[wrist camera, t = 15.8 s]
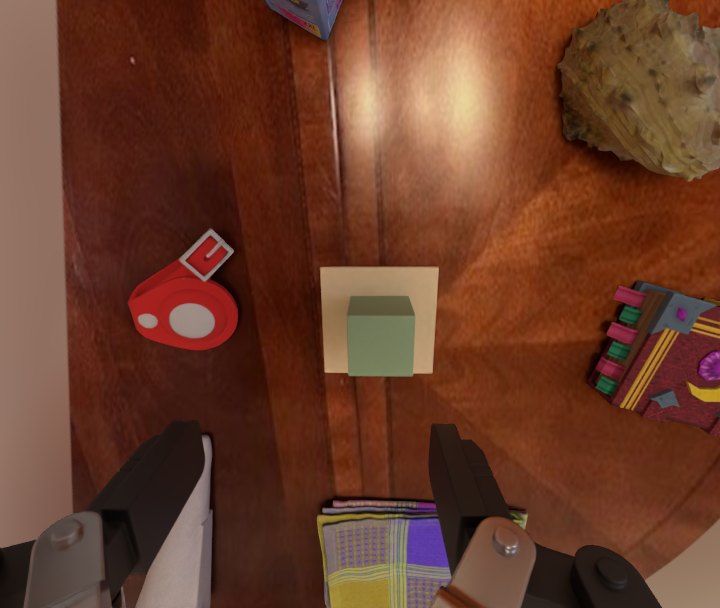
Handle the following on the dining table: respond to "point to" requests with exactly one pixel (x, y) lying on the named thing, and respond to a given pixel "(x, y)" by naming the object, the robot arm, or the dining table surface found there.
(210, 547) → the white cone
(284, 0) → the ink cartridge box
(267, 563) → the dining table surface
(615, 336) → the decorative book
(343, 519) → the dish towel
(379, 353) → the green block
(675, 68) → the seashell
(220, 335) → the tracker holder
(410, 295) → the sand mat
